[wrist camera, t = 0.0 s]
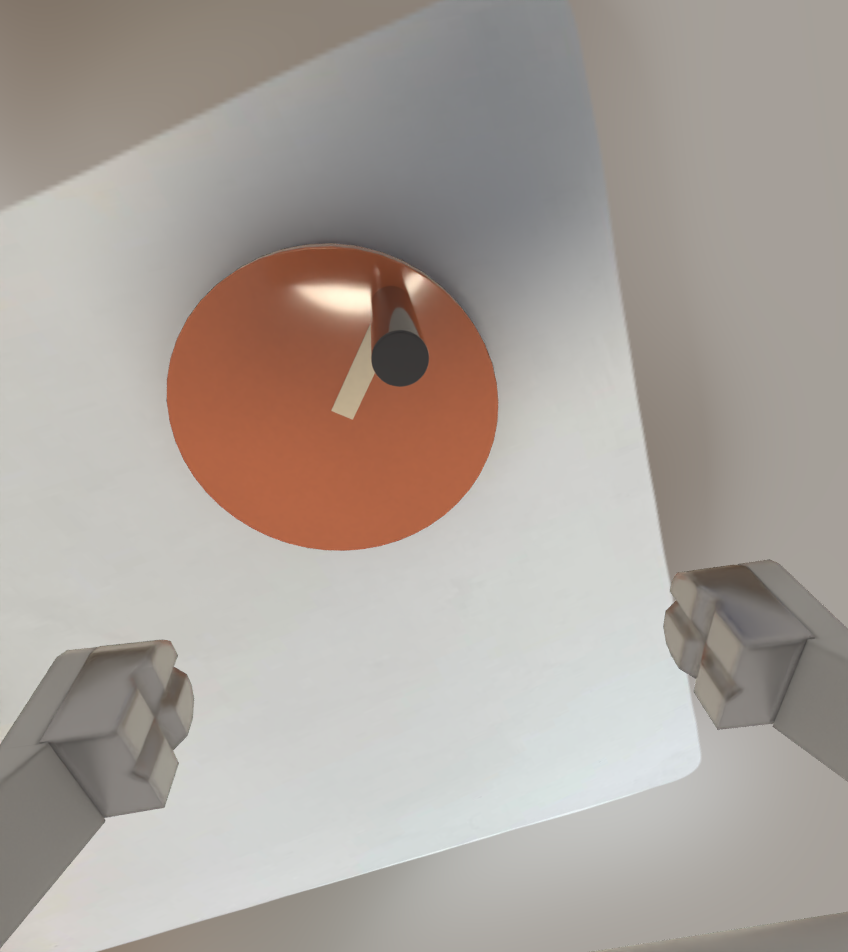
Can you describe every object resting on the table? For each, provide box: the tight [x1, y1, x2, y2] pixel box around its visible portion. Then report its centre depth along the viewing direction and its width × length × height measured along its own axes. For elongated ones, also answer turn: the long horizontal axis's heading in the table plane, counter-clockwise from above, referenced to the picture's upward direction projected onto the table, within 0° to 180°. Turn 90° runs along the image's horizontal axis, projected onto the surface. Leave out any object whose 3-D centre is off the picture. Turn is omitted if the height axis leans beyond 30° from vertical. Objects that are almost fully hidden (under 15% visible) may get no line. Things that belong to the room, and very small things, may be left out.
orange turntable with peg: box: [167, 243, 498, 551], centre depth 25 cm, size 17×17×9 cm
